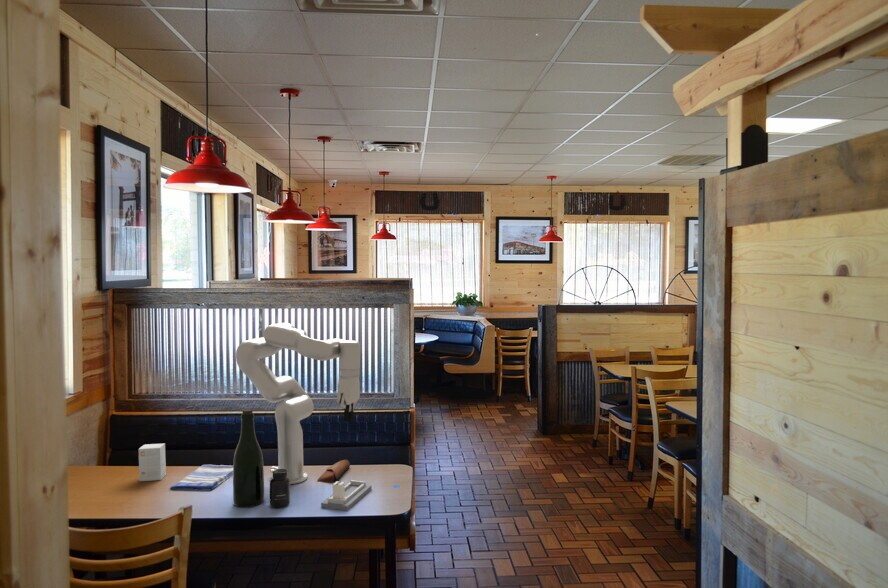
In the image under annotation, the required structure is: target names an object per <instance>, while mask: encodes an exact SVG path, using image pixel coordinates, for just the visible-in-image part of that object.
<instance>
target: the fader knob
mask: <svg viewBox="0 0 888 588" xmlns="http://www.w3.org/2000/svg"><path fill="white" fill-rule="evenodd" d="M345 484H346V483H345V481H341V480H339V481H336V482H333V483H332V494H333V498H337V499H345Z"/></svg>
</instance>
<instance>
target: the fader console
mask: <svg viewBox="0 0 888 588" xmlns="http://www.w3.org/2000/svg"><path fill="white" fill-rule="evenodd" d="M371 490H372V485H371V484H366V481H362V480H353V479H350V481H349V482H346V483H345V499H337V498H333V493H332V494H331V495H330V496H328V497H326V499H324V500H322V501H321V503H320V507H321V508H323V507H324V508H323V509H333V510H340V511H341V510H342V511H349V510H350V509H351V508H352V507H353V506H354V505H356V503H358V502H359V501H360V500H361V499H363V498H364V497H365V496H366V495H367V494H369V492H370V491H371ZM366 493H367V494H366ZM365 494H366V495H365Z"/></svg>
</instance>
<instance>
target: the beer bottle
mask: <svg viewBox="0 0 888 588" xmlns="http://www.w3.org/2000/svg"><path fill="white" fill-rule="evenodd" d="M241 412H242V413H241V415H240V419H241V423H240V425H241V426H240V436H239V440H238V444H237V445H236V448H235V452H234V454H233V456H234V457H233V465H232V466H233V475H232V503H233V505H234V506H236V507H240V508H250V507H254V506H257V505H259V504H261V503H262V502H263V501H265V477H264V476H265V473H264V470H265V469H264V458H263V452H262V451H263V450H262V449H261V447H260V444H259V441H258V440H257V436H256V432H255V431H256V430H255V413H254V412H253V409H250V408H248V409H247V408H246V409H243V410H242V411H241Z"/></svg>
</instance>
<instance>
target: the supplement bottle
mask: <svg viewBox="0 0 888 588" xmlns="http://www.w3.org/2000/svg"><path fill="white" fill-rule="evenodd" d="M286 476H287V470H286V469H277V470H274V471H273V473H272V478H271V479H270V481H269V506H270V508H273V509H283V508H286V507H288V506H289V505H290V503H291V484H290V479H289V478H288V477H286Z"/></svg>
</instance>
